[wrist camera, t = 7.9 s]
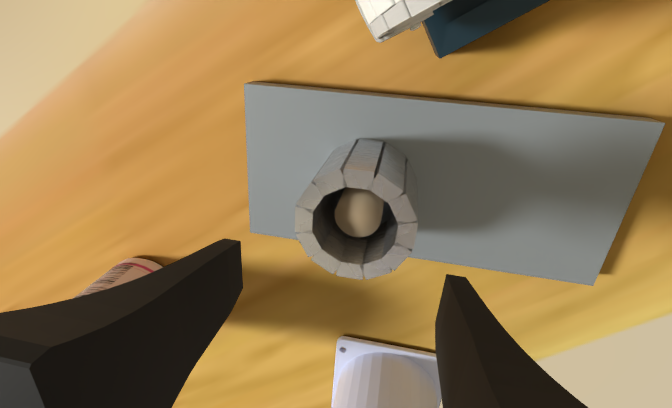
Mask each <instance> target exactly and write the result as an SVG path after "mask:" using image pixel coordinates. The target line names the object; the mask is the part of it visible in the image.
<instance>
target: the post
mask: <svg viewBox="0 0 672 408" xmlns="http://www.w3.org/2000/svg"><path fill="white" fill-rule="evenodd" d="M383 206H384V200H383V199H382V198H380V197H379V196H377V195H376V194H374V193H373V192H372V191H370V190H366V189H358V188H350V187H345V189H344V191H343V193H342V196H341V198H340V200H339V202H338V204H337V207H336V209H335V220H336V223H337V225H338V226H339V228H340V229H341V230H342V231H343V232H345V233H346V234H348V235H350V236H354V237H365V236H368V235H370V234H372V233H374V232H375V231H376V230H377V229H378V227H379V225H380V222H381V217H382V212H383Z"/></svg>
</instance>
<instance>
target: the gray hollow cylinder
mask: <svg viewBox="0 0 672 408" xmlns="http://www.w3.org/2000/svg"><path fill="white" fill-rule="evenodd" d="M344 187H350V188H358V189H366V190H370V191H372V192H373V193H374V194H376V195H377V196H379V197H380V198H382V199H383V200H384V201H386V202H387V203H389V205H390V207H391V209H390V210H389V211H388V212H385V213H382V217H381V222H380V225H379V227H378V229H377V230H376V231H375V232H374V233H372V234H370V235H368V236H365V237H354V236H350V235H348V234H346V233H345V232H343V231H342V230H341V229H340V228H339V226H338V225H337V223H336V220H335V209H336V207H337V204H338V202H339V199H338V197H337V195H336V193H335V191H337V190H339V189H342V188H344ZM296 204H297V205H296V206H295V232H297V234H296V236H297V238H298V240H299V242H300V243H301V245H302V247H303V248H304V250H305V252H306V254H307V255H308V257H310V256H312V258H311V260H312V261H314V262H315V263H317V264H318V265H320V266H321V267H323V268H324V269H326V270H327V271H329V272H330V273H332V274H334V272H335V271H336V270H337V273H336V276H341V277H347V278H353V279H359V280H363V276H365V278H366V280H368V279H371V278H374V277H378V276H381V275H384V274H388V273H391V271H392V269H393V270H394V271H395V270H396V269H397V267H398V266H399V265H400V264H401V263H402V262H403V261H404V260H405V259H406V258H407V257H408V256H409V255H410V254H411V253H412V249H414V244H415V238H416V232H417V227H418V202H417V178H416V176H415V174H414V171H413V169H412V167H411V164H410V162H409V160H408V158H407V159H406V155H404V154H403V153H402V152H400V151H399V150H397V149H396V148H395V147H393V146H392V145H390V144H389V143H388V142H386V143H385V145H384V146H383V140H373V139H364V138H360V139H359V141H358V140H357V139H355V140H353V141H350V142H348V143H346V144H344V145H341V146H339V147H337V148H336V149H335V150H333V152H332V153H331V154H330V156H329V157H328V159H327V160H326V161H325V163H324V164H323V166H322V167H321V168H320V170H319V171H318V173H317V174H316V175H315V177H314V178H313V180H312V181H311V182H310V184H309V185H308V187H307V188H306V190H305V191H304V193H303V194H302V196H301V197H300V199H299V200H298V201H297V203H296Z"/></svg>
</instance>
